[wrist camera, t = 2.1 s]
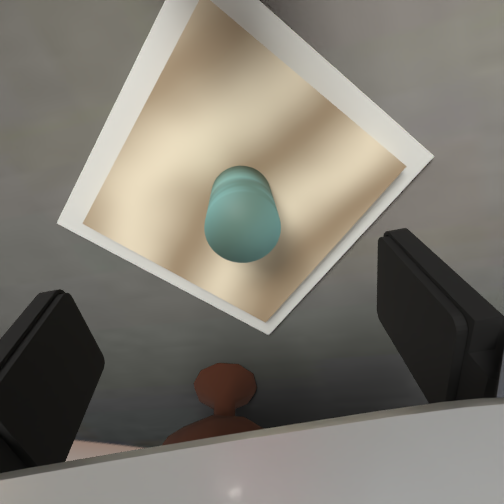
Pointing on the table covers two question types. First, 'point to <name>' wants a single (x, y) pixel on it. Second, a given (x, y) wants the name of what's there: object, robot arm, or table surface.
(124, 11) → the table surface
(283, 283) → the lid
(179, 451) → the robot arm
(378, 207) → the mat
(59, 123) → the table surface
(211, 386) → the ice cream bowl
